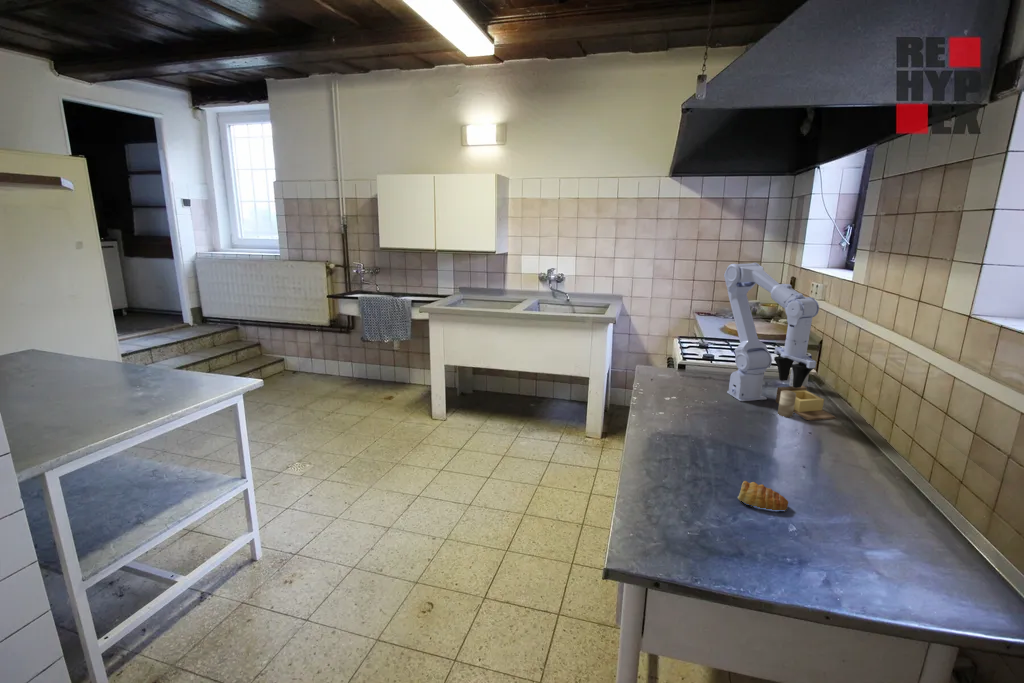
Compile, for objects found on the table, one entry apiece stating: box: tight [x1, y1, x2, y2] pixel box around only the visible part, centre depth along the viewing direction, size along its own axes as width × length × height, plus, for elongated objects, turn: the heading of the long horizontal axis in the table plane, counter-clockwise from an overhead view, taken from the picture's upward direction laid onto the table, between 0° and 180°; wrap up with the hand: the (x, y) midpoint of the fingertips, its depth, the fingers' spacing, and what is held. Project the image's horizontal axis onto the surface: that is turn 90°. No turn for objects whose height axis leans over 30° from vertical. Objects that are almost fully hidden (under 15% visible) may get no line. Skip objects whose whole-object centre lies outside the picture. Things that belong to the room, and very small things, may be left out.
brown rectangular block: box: [775, 386, 836, 421], centre depth 150 cm, size 9×14×5 cm, turn 9°
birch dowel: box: [777, 390, 796, 418], centre depth 146 cm, size 4×4×7 cm
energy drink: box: [788, 352, 813, 388], centre depth 168 cm, size 5×5×12 cm
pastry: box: [737, 480, 789, 511], centre depth 104 cm, size 9×7×4 cm
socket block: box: [792, 389, 825, 412], centre depth 151 cm, size 8×8×4 cm
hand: (790, 383), depth 145 cm, fingers open, 5 cm apart
